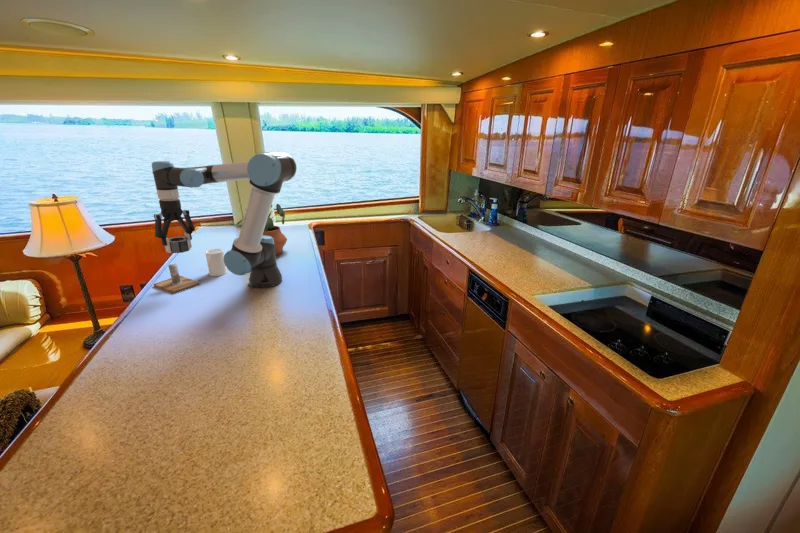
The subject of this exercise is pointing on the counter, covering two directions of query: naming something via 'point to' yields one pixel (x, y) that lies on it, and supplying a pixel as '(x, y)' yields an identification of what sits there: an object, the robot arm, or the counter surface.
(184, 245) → the ring
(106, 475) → the counter surface
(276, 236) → the potted plant
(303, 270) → the counter surface
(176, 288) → the post block
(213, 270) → the mug
